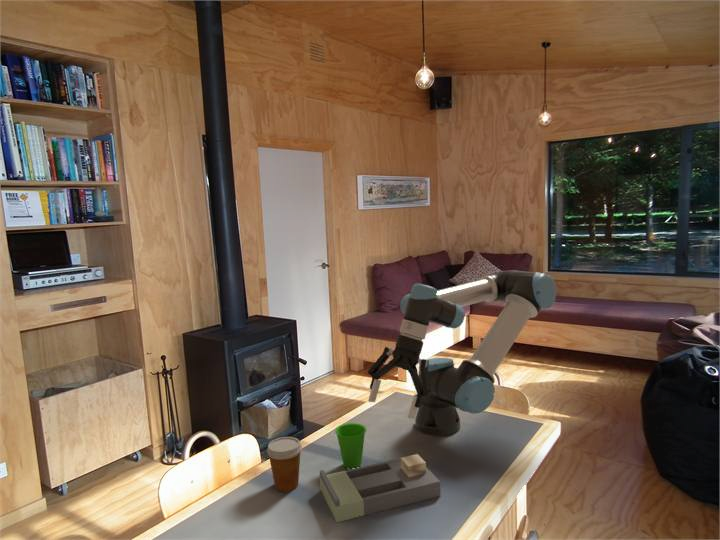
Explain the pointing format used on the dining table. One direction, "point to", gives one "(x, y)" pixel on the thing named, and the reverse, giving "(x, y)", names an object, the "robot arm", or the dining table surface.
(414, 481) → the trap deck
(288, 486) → the disposable coffee cup
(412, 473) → the block
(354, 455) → the cup
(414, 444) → the dining table surface
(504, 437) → the dining table surface
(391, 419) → the dining table surface
